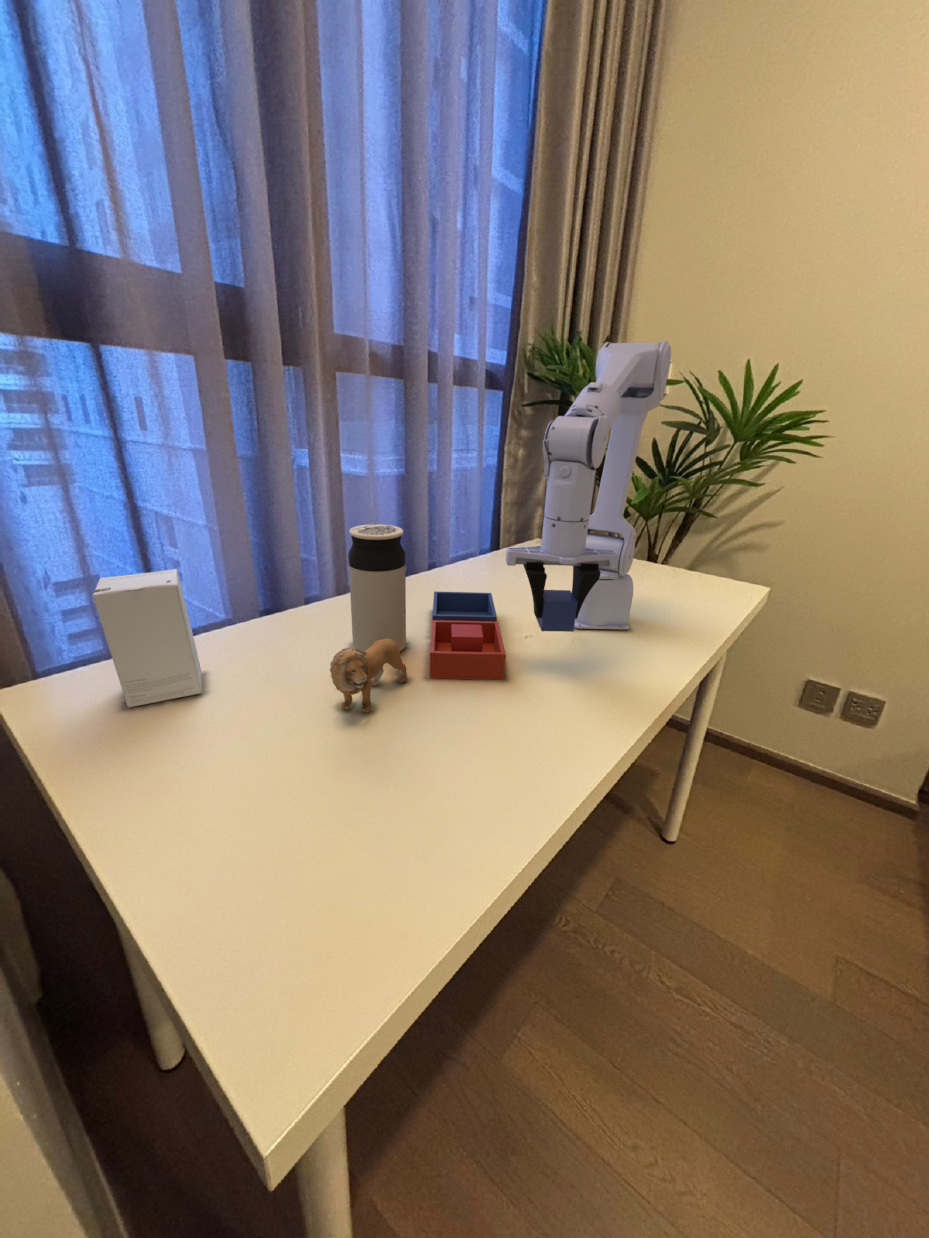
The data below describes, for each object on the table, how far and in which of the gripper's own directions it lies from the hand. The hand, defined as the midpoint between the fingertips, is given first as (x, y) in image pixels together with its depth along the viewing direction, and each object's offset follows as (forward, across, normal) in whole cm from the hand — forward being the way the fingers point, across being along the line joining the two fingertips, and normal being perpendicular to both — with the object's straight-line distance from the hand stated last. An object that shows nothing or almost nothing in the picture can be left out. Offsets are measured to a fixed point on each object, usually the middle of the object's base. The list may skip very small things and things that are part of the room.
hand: (555, 615), depth 70 cm
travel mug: (+8, -25, +6) cm, 27 cm away
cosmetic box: (+8, -50, -8) cm, 51 cm away
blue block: (+1, 0, 0) cm, 1 cm away
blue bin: (+8, -12, +15) cm, 21 cm away
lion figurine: (+8, -24, -9) cm, 27 cm away
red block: (+8, -12, +2) cm, 14 cm away
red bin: (+8, -12, +2) cm, 15 cm away
